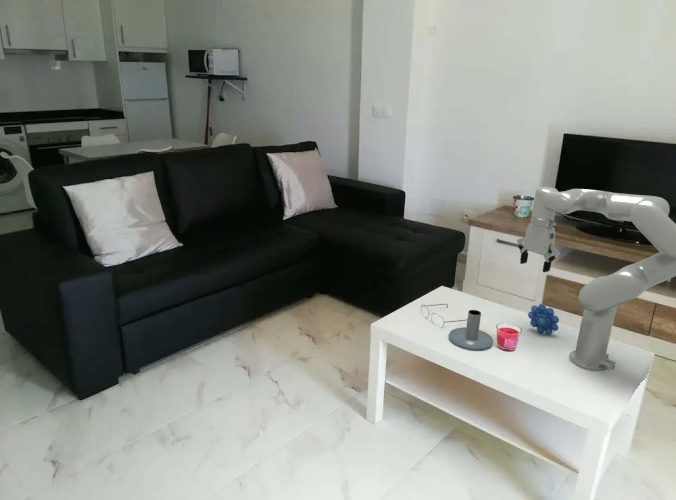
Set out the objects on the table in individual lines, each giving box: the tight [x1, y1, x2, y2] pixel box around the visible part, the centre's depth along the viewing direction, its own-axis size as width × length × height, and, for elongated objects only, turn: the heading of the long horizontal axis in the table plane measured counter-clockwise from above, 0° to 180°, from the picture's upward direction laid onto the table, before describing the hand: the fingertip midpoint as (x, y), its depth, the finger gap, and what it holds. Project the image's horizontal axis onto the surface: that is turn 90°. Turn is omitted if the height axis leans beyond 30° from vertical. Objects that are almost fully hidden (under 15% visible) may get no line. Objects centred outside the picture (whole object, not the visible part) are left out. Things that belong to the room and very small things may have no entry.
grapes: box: [527, 303, 560, 336], centre depth 200 cm, size 12×7×12 cm, turn 58°
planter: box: [465, 309, 482, 340], centre depth 193 cm, size 4×4×10 cm
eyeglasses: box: [420, 303, 467, 329], centre depth 212 cm, size 16×15×5 cm
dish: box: [448, 326, 494, 352], centre depth 195 cm, size 16×16×1 cm
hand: (534, 267), depth 191 cm, fingers open, 9 cm apart
